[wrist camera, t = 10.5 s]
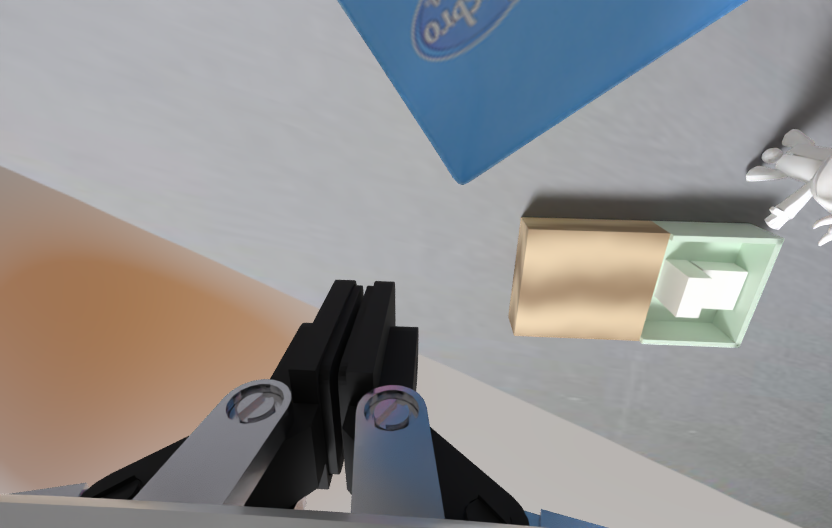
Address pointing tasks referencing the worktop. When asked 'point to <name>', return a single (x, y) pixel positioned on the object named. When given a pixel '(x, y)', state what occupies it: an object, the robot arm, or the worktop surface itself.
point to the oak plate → (585, 277)
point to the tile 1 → (682, 288)
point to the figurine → (799, 178)
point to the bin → (713, 245)
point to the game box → (515, 62)
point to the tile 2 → (722, 283)
